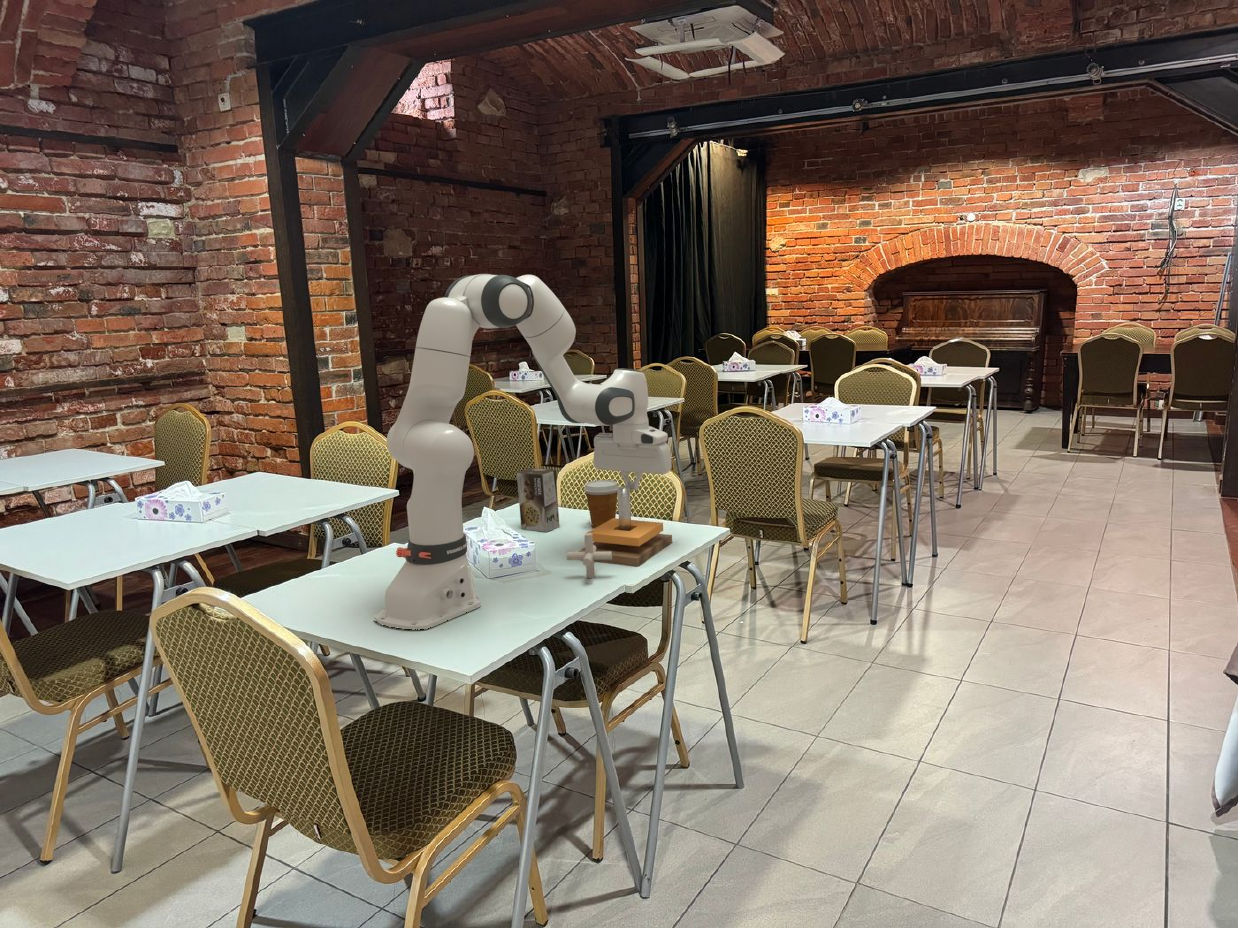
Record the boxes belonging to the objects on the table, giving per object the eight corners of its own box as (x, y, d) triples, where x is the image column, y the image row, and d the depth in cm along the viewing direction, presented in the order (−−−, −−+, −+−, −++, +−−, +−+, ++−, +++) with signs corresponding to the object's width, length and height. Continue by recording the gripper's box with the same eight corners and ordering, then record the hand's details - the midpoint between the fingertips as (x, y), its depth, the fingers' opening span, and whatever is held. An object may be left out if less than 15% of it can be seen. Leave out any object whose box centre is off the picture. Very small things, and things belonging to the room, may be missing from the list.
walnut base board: (637, 566, 197) (637, 558, 197) (578, 559, 204) (577, 551, 204) (672, 542, 215) (672, 534, 214) (616, 536, 222) (615, 529, 221)
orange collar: (638, 546, 200) (638, 538, 199) (586, 540, 206) (586, 532, 205) (663, 530, 212) (662, 522, 211) (613, 525, 218) (613, 518, 218)
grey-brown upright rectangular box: (560, 526, 234) (557, 469, 231) (546, 532, 229) (542, 474, 225) (534, 523, 239) (530, 467, 235) (519, 529, 233) (515, 471, 230)
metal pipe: (631, 547, 205) (628, 491, 203) (610, 545, 208) (607, 489, 205) (641, 540, 210) (638, 485, 208) (620, 538, 213) (618, 484, 210)
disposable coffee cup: (587, 521, 237) (585, 480, 235) (621, 520, 237) (619, 478, 234) (584, 531, 228) (582, 488, 226) (620, 530, 228) (618, 486, 225)
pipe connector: (614, 569, 196) (613, 527, 194) (610, 584, 186) (608, 540, 184) (572, 569, 197) (569, 528, 195) (565, 584, 187) (562, 541, 185)
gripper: (587, 434, 211) (589, 488, 213) (663, 438, 201) (664, 495, 204) (599, 430, 216) (601, 483, 219) (673, 434, 207) (674, 489, 209)
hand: (632, 489), depth 211 cm, fingers closed
